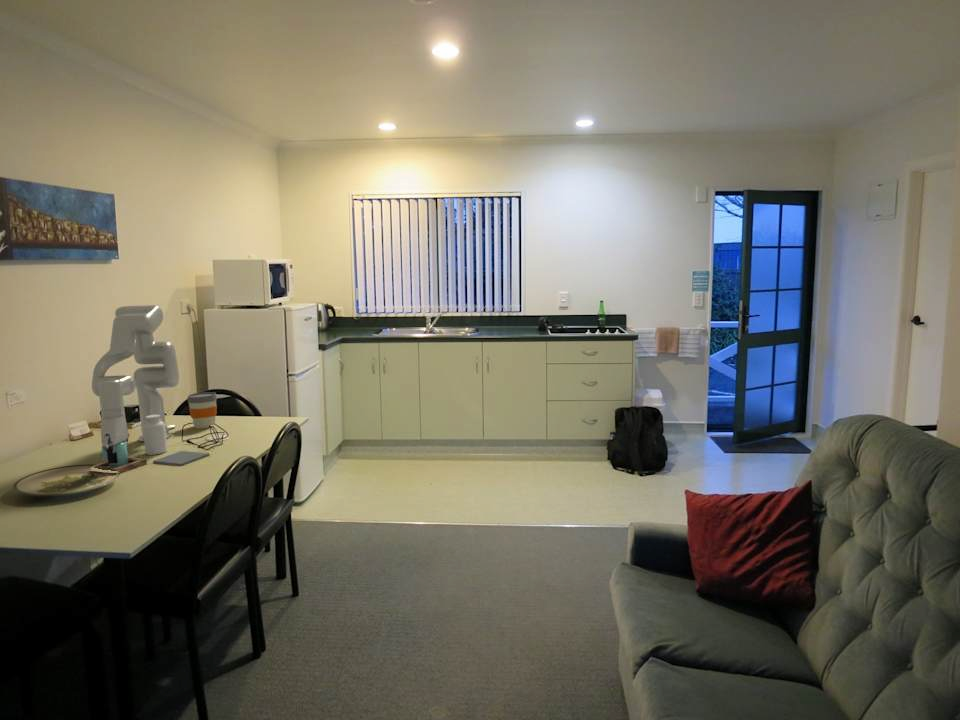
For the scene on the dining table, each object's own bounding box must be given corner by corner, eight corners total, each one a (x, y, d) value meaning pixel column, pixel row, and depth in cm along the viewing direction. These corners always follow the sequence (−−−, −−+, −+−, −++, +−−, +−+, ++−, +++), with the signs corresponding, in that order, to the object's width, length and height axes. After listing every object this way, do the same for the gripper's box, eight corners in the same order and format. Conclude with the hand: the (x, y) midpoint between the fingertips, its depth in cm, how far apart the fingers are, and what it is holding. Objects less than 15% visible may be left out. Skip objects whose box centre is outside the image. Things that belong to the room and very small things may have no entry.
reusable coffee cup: (206, 430, 294) (204, 397, 292) (184, 428, 298) (181, 396, 296) (224, 423, 306) (222, 392, 304) (202, 422, 310) (199, 391, 307)
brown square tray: (121, 461, 248) (120, 456, 247) (146, 463, 243) (146, 459, 243) (90, 471, 236) (89, 466, 235) (116, 474, 231) (116, 469, 231)
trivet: (181, 452, 257) (181, 450, 257) (209, 455, 252) (209, 453, 252) (153, 463, 244) (152, 460, 244) (181, 465, 239) (181, 463, 239)
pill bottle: (145, 456, 254) (141, 419, 252) (145, 451, 261) (141, 415, 259) (167, 453, 257) (164, 416, 255) (167, 448, 264) (163, 412, 262)
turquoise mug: (132, 463, 243) (129, 440, 241) (123, 469, 236) (120, 445, 235) (110, 464, 243) (107, 441, 241) (100, 469, 237) (97, 446, 235)
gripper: (116, 407, 245) (121, 453, 248) (88, 418, 228) (94, 467, 231) (135, 407, 245) (140, 453, 248) (109, 418, 228) (115, 467, 231)
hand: (118, 459), depth 239 cm, fingers closed on turquoise mug, 6 cm apart
